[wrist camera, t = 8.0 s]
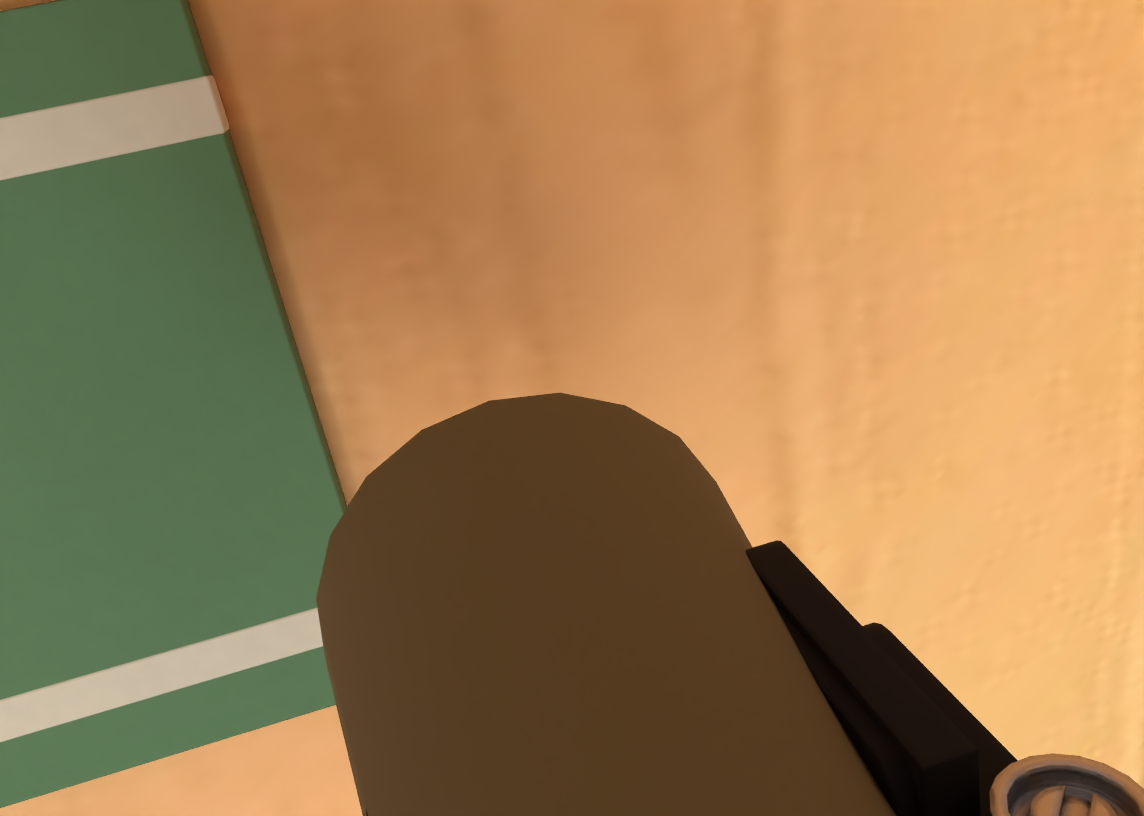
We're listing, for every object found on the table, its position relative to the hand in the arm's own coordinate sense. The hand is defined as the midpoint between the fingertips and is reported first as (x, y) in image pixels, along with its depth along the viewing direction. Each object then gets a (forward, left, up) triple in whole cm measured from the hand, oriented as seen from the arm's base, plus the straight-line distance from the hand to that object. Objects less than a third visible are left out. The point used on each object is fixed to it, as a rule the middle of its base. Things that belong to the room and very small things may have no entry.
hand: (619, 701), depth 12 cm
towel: (-1, -10, -15) cm, 18 cm away
